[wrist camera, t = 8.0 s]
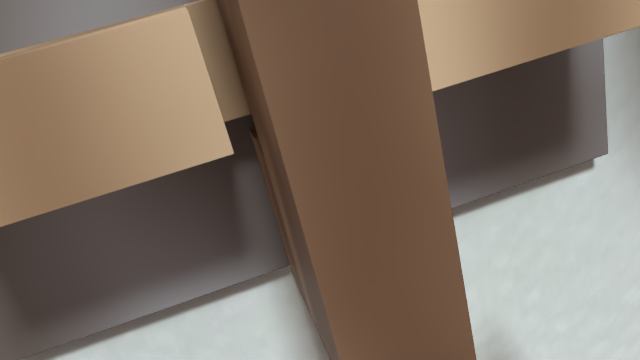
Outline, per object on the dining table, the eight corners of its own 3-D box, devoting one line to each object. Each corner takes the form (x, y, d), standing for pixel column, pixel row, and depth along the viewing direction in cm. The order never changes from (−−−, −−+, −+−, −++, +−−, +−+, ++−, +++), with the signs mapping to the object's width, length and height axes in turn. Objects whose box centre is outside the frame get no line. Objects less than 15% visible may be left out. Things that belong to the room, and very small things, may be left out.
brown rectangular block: (254, -265, 11) (333, -513, 6) (371, 241, 16) (479, 377, 10) (137, -242, 11) (101, -483, 5) (291, 269, 15) (358, 425, 10)
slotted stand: (567, -325, 13) (762, -480, 9) (594, 148, 17) (730, 199, 13) (-282, -155, 10) (-604, -259, 6) (9, 351, 15) (-57, 497, 10)
